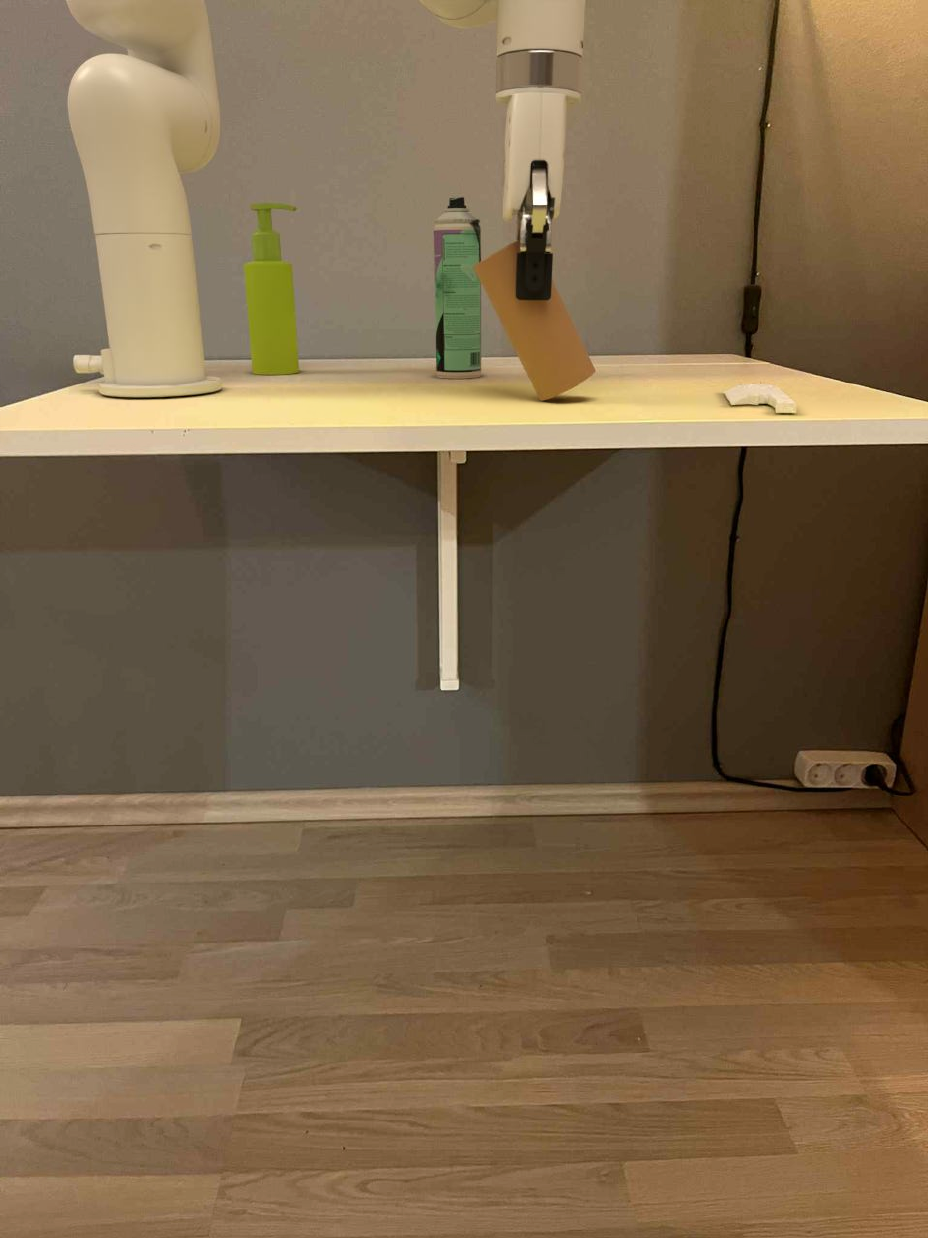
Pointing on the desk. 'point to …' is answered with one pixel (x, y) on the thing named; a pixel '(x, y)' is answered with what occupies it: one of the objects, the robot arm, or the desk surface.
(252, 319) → the soap dispenser
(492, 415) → the desk surface
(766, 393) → the white curved arc piece
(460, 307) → the spray can
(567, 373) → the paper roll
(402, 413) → the desk surface
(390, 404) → the desk surface
